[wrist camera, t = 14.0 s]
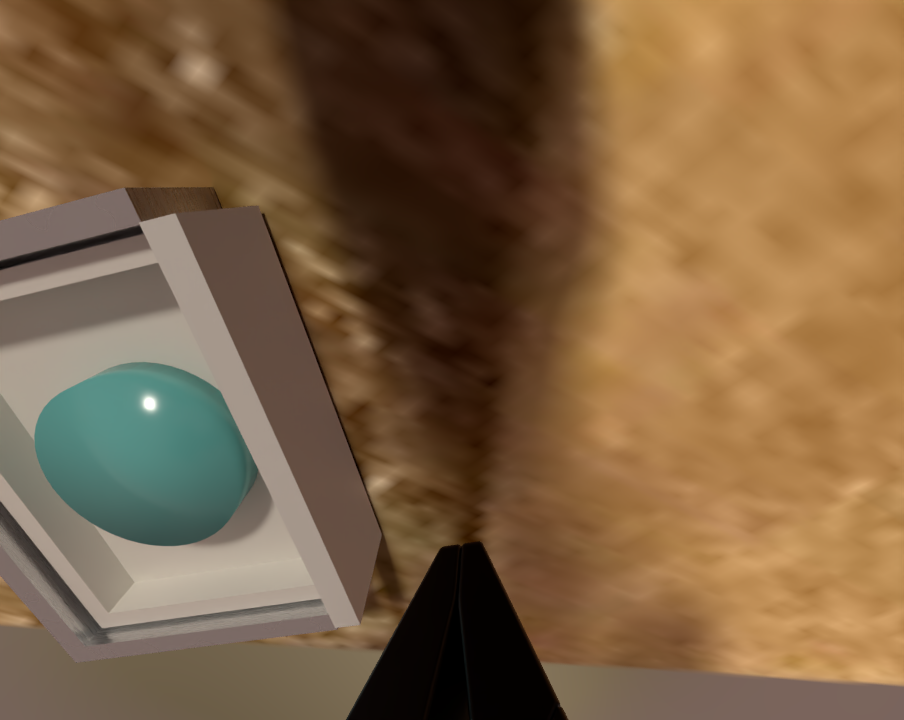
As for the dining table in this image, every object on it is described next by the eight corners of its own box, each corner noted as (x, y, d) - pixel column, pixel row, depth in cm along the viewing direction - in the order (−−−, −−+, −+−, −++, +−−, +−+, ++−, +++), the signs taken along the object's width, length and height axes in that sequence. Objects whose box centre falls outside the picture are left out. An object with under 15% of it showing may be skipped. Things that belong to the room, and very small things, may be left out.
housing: (213, 187, 14) (124, 187, 11) (360, 549, 20) (337, 629, 17) (-81, 263, 16) (-251, 287, 12) (141, 581, 22) (76, 662, 18)
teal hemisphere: (36, 384, 15) (-10, 405, 14) (209, 342, 14) (179, 360, 13) (135, 527, 18) (106, 558, 16) (287, 500, 17) (270, 530, 15)
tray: (258, 205, 14) (174, 212, 10) (381, 534, 20) (360, 624, 16) (-40, 280, 16) (-218, 313, 11) (154, 568, 21) (80, 660, 17)
